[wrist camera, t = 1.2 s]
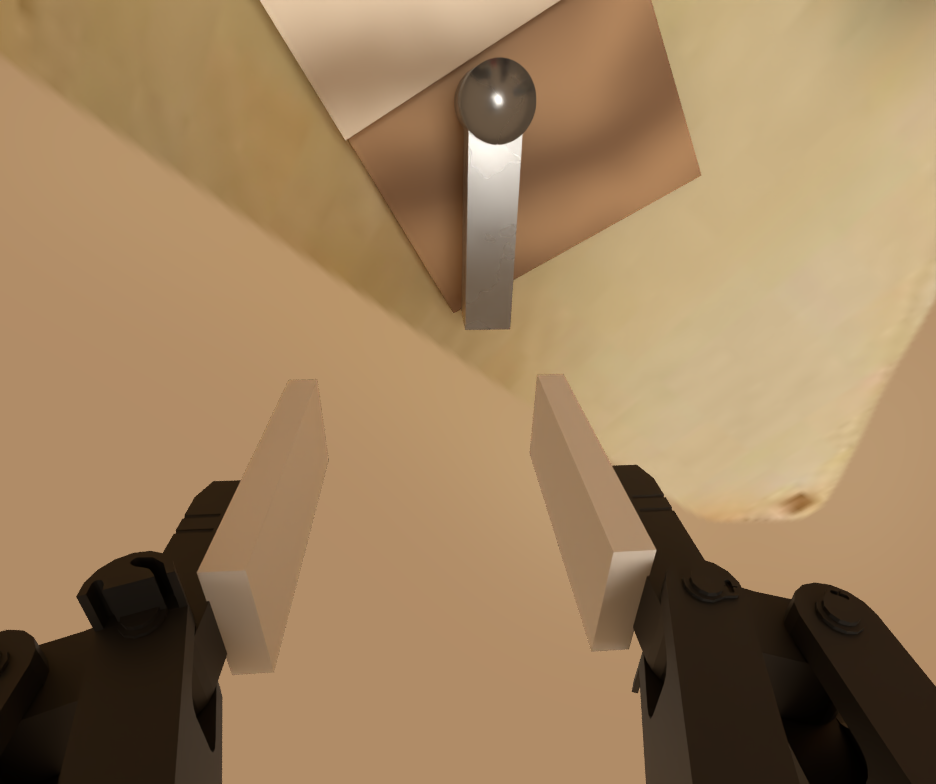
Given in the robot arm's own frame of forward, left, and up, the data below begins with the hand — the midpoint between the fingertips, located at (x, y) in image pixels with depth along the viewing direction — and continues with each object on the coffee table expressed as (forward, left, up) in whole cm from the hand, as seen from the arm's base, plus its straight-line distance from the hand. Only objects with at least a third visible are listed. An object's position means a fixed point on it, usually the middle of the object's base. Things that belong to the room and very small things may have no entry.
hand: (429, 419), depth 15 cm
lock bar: (-1, +5, -17) cm, 18 cm away
